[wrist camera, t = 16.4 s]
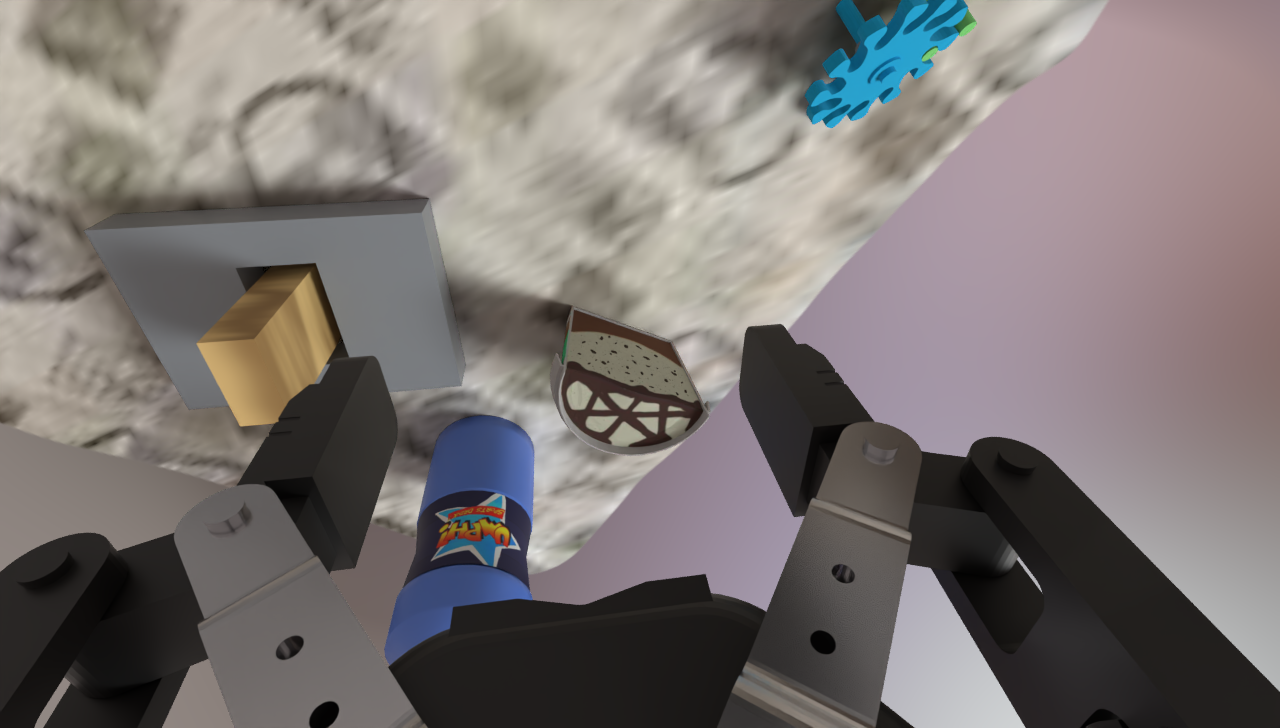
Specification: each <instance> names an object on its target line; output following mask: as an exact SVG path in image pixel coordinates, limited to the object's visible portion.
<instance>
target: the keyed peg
mask: <svg viewBox="0 0 1280 728" xmlns="http://www.w3.org/2000/svg"><path fill="white" fill-rule="evenodd" d="M341 337H342V335H341V333H340V330H339V327H338V324H337V321H336V319H335V316H334V313H333V310H332V307H331V305H330V302H329V299H328V296H327V293H326V291H325V288H324V285H323V282H322V279H321V277H320V274H319V271H318V268H317V265H316V263H308V264H291V265H275V266H271V267H270V268H269V269H268V270H267V271H266V272H265V273H264V274H263V275H262V276H261V277H260V279H259V280H258V281H257V282H256V283H255V284H254V285H253V286H252V287H251V288H250V289H249V290H248V291H247V292H246V293H245V294H244V295H243V296H242V297H241V298H240V299H239V300H238V301H237V302H236V303H235V304H234V305H233V306H232V307H231V308H230V309H229V310H228V311H227V312H226V313H225V314H224V315H223V316H222V317H221V318H220V319H219V320H218V321H217V323H216V324H215V325H214V326H213V327H212V328H211V329H210V330H209V331H208V332H207V333H206V334H205V335H204V336H203V337H202V338H201V339H200V340H199V341H198V342H197V343H196V344H197V346H198V348H199V350H200V351H201V353H202V355H203V357H204V359H205V361H206V363H207V365H208V367H209V368H210V370H211V372H212V374H213V376H214V378H215V380H216V382H217V384H218V385H219V387H220V389H221V391H222V393H223V395H224V397H225V399H226V400H227V402H228V404H229V406H230V408H231V410H232V412H233V414H234V416H235V417H236V419H237V421H238V423H239V425H240V426H251V425H262V424H273V423H276V422H278V418H279V416H280V415H281V413H282V411H283V410H284V408H285V406H286V405H287V403H288V402H289V400H291V399H292V398H293V397H294V396H296V395H297V394H298V393H299V392H300V391H302V390H303V389H304V388H305V387H307V386H308V385H309V384H314V383H315V382H316V380H317V378H318V376H319V375H320V373H321V371H322V370H323V368H324V366H325V364H326V363H327V361H328V359H329V357H330V356H331V354H332V352H333V351H334V349H335V347H336V345H337V344H338V342H339V340H340V339H341Z"/></svg>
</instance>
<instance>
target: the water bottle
mask: <svg viewBox="0 0 1280 728" xmlns="http://www.w3.org/2000/svg"><path fill="white" fill-rule="evenodd" d="M533 487H534V447H533V443H532V441H531V439H530V437H529V436H528V434H527V433H526V432H525V431H524V430H523V429H522V428H521V427H519V426H518V425H516V424H515V423H513V422H511V421H509V420H506V419H503V418H500V417H495V416H482V415H481V416H471V417H468V418H464V419H461V420H458V421H456V422H454V423H452V424H451V425H449V426H448V427H447V428H445V429H444V431H443V432H442V433H441V434H440V435H439V437H438V439H437V441H436V445H435V449H434V453H433V457H432V461H431V465H430V470H429V474H428V478H427V482H426V486H425V491H424V495H423V499H422V504H421V508H420V512H419V517H418V521H417V543H416V554H415V557H414V560H413V562H412V565H411V567H410V570H409V573H408V575H407V578H406V581H405V583H404V586H403V589H402V590H401V591H400V593H399V595H398V596H397V599H396V603H395V607H394V611H393V615H392V620H391V624H390V628H389V632H388V636H387V640H386V645H385V649H384V650H385V657H386V659H387V661H388V663H389V665H391V664H392V663H393V662H394V661H395V660H396V659H398V658H399V657H400V656H402V655H403V654H404V653H406V652H407V651H408V650H410V649H411V648H413V647H414V646H416V645H418V644H419V643H421V642H422V641H424V640H426V639H428V638H430V637H432V636H434V635H436V634H438V633H440V632H442V631H445V630H447V629H450V624H451V617H452V610H453V607H456V606H464V605H471V604H479V603H487V602H494V601H502V600H510V599H527V600H533V599H532V595H531V593H530V587H529V578H528V568H527V559H526V555H527V550H528V545H529V540H530V535H531V532H532V521H533Z"/></svg>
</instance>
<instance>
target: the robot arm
mask: <svg viewBox="0 0 1280 728" xmlns="http://www.w3.org/2000/svg"><path fill="white" fill-rule="evenodd" d="M739 391H740V400H741V404H742V408H743V410H744V412H745V414H746V417H747V418H748V421H749V423H750V425H751V427H752V429H753V431H754V434H755V436H756V438H757V440H758V442H759V444H760V446H761V448H762V450H763V453H764V455H765V457H766V459H767V461H768V463H769V465H770V467H771V470H772V472H773V474H774V476H775V478H776V480H777V482H778V484H779V486H780V489H781V491H782V493H783V495H784V497H785V499H786V501H787V503H788V506H789V508H790V510H791V512H792V514H793V516H794V517H798V516H805V517H804V519H803V522H802V524H801V527H800V529H799V532H798V534H797V537H796V539H795V542H794V544H793V547H792V549H791V552H790V554H789V557H788V559H787V562H786V564H785V567H784V569H783V572H782V574H781V577H780V579H779V582H778V584H777V587H776V589H775V592H774V595H773V597H772V599H771V602H770V604H769V607H768V610H767V612H766V611H764V610H763V609H760V608H758V607H756V606H754V605H752V604H750V603H747V602H744V601H742V600H739V599H736V598H733V597H729V596H725V595H720V594H713V593H711V592H710V589H709V585H708V581H707V578H706V575H705V574H702V575H695V576H687V577H680V578H672V579H665V580H656V581H648V582H644V583H642V584H639V585H636V586H634V587H631V588H628V589H626V590H623V591H621V592H618V593H615V594H613V595H610V596H607V597H605V598H602V599H600V600H597V601H595V602H592V603H589V604H586V605H573V604H563V603H554V602H545V601H536V600H527V599H510V600H502V601H494V602H487V603H479V604H471V605H464V606H456V607H453V610H452V617H451V624H450V629H447V630H445V631H442V632H440V633H438V634H436V635H434V636H432V637H430V638H428V639H426V640H424V641H422V642H421V643H419V644H418V645H416V646H414V647H413V648H411V649H410V650H408V651H407V652H406V653H404V654H403V655H402V656H400V657H399V658H398V659H396V660H395V661H394V662H393V663H392V664H391V665H390V666H389V667H387V665H386V663H385V662H384V660H383V659H382V657H381V656H380V654H379V653H378V651H377V649H376V648H375V646H374V645H373V643H372V641H371V640H370V638H369V637H368V635H367V634H366V632H365V630H364V629H363V627H362V626H361V624H360V623H359V621H358V619H357V618H356V616H355V615H354V613H353V611H352V610H351V608H350V607H349V605H348V604H347V602H346V600H345V599H344V597H343V596H342V594H341V592H340V591H339V589H338V588H337V586H336V584H335V583H334V581H333V580H332V578H331V577H330V572H331V571H335V570H344V569H351V568H355V567H356V564H357V560H358V557H359V554H360V551H361V548H362V545H363V542H364V539H365V536H366V533H367V530H368V527H369V524H370V521H371V518H372V515H373V512H374V509H375V505H376V502H377V499H378V496H379V493H380V490H381V487H382V484H383V481H384V478H385V475H386V472H387V469H388V466H389V462H390V459H391V456H392V453H393V450H394V447H395V444H396V440H397V431H398V428H397V418H396V413H395V410H394V407H393V404H392V401H391V397H390V394H389V391H388V388H387V385H386V382H385V379H384V376H383V373H382V370H381V367H380V364H379V362H378V360H377V358H376V357H375V356H361V357H348V358H336V359H334V360H333V361H332V362H331V364H330V366H329V367H328V369H327V371H326V373H325V374H324V376H323V378H322V380H321V381H320V383H319V384H309V385H308V386H307V387H305V388H304V389H303V390H302V391H300V392H299V393H298V394H297V395H296V396H294V397H293V398H292V399H291V400H289V402H288V403H287V405H286V406H285V408H284V410H283V411H282V413H281V415H280V416H279V418H278V422H276V423H275V424H274V426H273V428H272V429H271V431H270V432H269V437H266V439H265V441H264V442H263V444H262V445H261V447H260V449H259V450H258V452H257V453H256V455H255V457H254V458H253V460H252V462H251V463H250V465H249V466H248V468H247V470H246V471H245V473H244V475H243V476H242V478H241V479H240V481H239V483H238V484H237V486H235V487H231V488H228V489H225V490H223V491H220V492H218V493H215V494H213V495H211V496H210V497H208V498H206V499H204V500H203V501H201V502H200V503H199V504H197V505H196V506H194V507H193V508H192V509H191V510H190V511H189V512H187V513H186V514H185V516H184V517H183V518H182V519H181V521H180V522H179V523H178V525H177V527H176V530H175V533H173V534H169V535H166V536H163V537H160V538H157V539H154V540H151V541H148V542H144V543H141V544H138V545H135V546H132V547H129V548H126V549H122V550H119V551H117V550H116V549H115V548H114V547H113V546H112V544H111V543H110V542H109V541H108V540H107V538H106V537H104V536H102V535H100V534H96V533H78V534H73V535H68V536H65V537H62V538H58V539H56V540H53V541H50V542H48V543H46V544H43V545H41V546H39V547H37V548H35V549H33V550H31V551H29V552H27V553H26V554H24V555H23V556H21V557H19V558H18V559H16V560H15V561H14V562H12V563H11V564H10V565H8V566H7V567H6V568H5V569H3V570H2V571H1V572H0V728H34V727H35V724H36V722H37V719H38V718H39V716H40V714H41V712H42V711H43V709H44V708H45V706H46V705H47V703H48V701H49V700H50V698H51V697H52V695H53V693H54V692H55V690H56V689H57V687H58V686H59V684H60V683H61V681H62V680H63V678H64V677H65V678H66V679H67V680H68V681H69V682H70V683H71V684H70V686H69V687H68V689H67V691H66V692H65V694H64V695H63V697H62V699H61V700H60V702H59V703H58V705H57V707H56V708H55V710H54V711H53V713H52V715H51V716H50V718H49V719H48V721H47V723H46V724H45V726H44V728H162V726H163V724H164V722H165V720H166V718H167V715H168V713H169V711H170V709H171V706H172V705H173V702H174V700H175V698H176V696H177V694H178V691H179V689H180V687H181V685H182V683H183V681H184V678H185V676H186V674H187V672H188V670H189V668H190V666H191V665H194V664H196V663H199V662H201V661H204V660H206V659H209V660H210V663H211V666H212V668H213V671H214V674H215V677H216V679H217V682H218V685H219V687H220V690H221V693H222V695H223V698H224V701H225V703H226V706H227V709H228V712H229V714H230V717H231V720H232V722H233V725H234V728H914V727H913V726H912V725H910V724H909V723H908V722H906V721H905V720H904V719H903V718H901V717H900V716H899V715H898V714H897V713H895V712H894V711H892V709H890V708H889V707H888V706H886V705H885V704H884V703H882V702H881V695H882V690H883V685H884V680H885V675H886V669H887V664H888V659H889V654H890V649H891V643H892V638H893V633H894V628H895V622H896V617H897V612H898V607H899V601H900V596H901V591H902V585H903V580H904V575H905V570H906V565H907V564H910V565H917V566H922V567H929V568H931V569H932V571H933V572H934V574H935V576H936V577H937V579H938V581H939V583H940V584H941V586H942V588H943V589H944V591H945V592H946V594H947V596H948V598H949V599H950V601H951V603H952V604H953V606H954V608H955V609H956V611H957V613H958V614H959V616H960V618H961V620H962V621H963V623H964V625H965V626H966V628H967V630H968V631H969V633H970V635H971V636H972V638H973V640H974V641H975V643H976V645H977V647H978V648H979V650H980V652H981V653H982V655H983V657H984V658H985V660H986V662H987V663H988V665H989V667H990V668H991V670H992V672H993V673H994V675H995V677H996V678H997V680H998V682H999V684H1000V685H1001V687H1002V688H1003V690H1004V692H1005V694H1006V695H1007V697H1008V699H1009V700H1010V702H1011V704H1012V705H1013V707H1014V709H1015V711H1016V712H1017V714H1018V716H1019V717H1020V719H1021V721H1022V722H1023V724H1024V726H1025V727H1026V728H1280V692H1279V691H1278V690H1277V689H1276V688H1275V687H1274V685H1272V684H1271V682H1270V681H1269V680H1268V679H1267V678H1266V677H1265V676H1263V674H1262V673H1261V672H1260V671H1259V670H1258V669H1257V668H1256V667H1255V666H1254V665H1253V664H1252V663H1251V662H1250V661H1249V660H1248V659H1247V658H1246V657H1245V656H1244V655H1243V654H1242V653H1241V652H1240V651H1239V650H1238V649H1237V648H1236V647H1235V646H1234V645H1233V644H1232V643H1231V642H1230V641H1229V640H1228V639H1227V638H1226V637H1225V636H1224V635H1223V634H1222V633H1221V632H1220V631H1219V630H1218V629H1217V628H1216V627H1215V626H1214V625H1213V624H1212V623H1211V621H1210V620H1209V619H1208V618H1207V617H1206V616H1205V615H1204V614H1203V613H1202V612H1201V611H1200V610H1199V609H1198V608H1197V607H1196V606H1194V604H1193V603H1192V602H1191V601H1190V600H1189V599H1188V598H1187V597H1186V596H1185V595H1184V594H1183V593H1182V592H1181V591H1180V590H1179V589H1178V588H1177V587H1176V586H1175V585H1174V584H1173V583H1172V582H1171V581H1170V580H1169V579H1168V578H1167V577H1166V576H1165V575H1164V574H1163V573H1162V572H1161V571H1160V570H1159V569H1158V568H1157V567H1156V566H1155V565H1154V564H1153V563H1152V562H1151V561H1150V560H1149V559H1148V557H1147V556H1146V555H1144V554H1143V553H1142V551H1141V550H1140V549H1139V548H1138V547H1137V546H1136V545H1135V544H1134V543H1133V542H1132V541H1131V540H1130V539H1129V538H1128V537H1127V536H1126V535H1125V534H1124V533H1123V532H1122V531H1121V530H1120V529H1119V528H1118V527H1117V526H1116V525H1115V524H1114V523H1113V522H1112V521H1111V520H1110V519H1109V518H1108V517H1107V516H1106V515H1105V514H1104V513H1103V512H1102V511H1101V510H1100V509H1099V508H1098V507H1097V506H1096V505H1095V504H1094V503H1093V502H1092V501H1091V500H1090V499H1089V498H1088V497H1087V496H1086V495H1085V493H1083V491H1081V489H1079V487H1078V486H1077V485H1076V484H1075V483H1074V482H1072V480H1071V479H1070V478H1069V477H1068V476H1067V475H1066V474H1065V473H1064V472H1063V471H1062V470H1061V469H1060V468H1059V467H1058V466H1057V465H1056V464H1055V463H1054V462H1053V461H1052V460H1051V459H1050V458H1049V457H1047V456H1046V455H1045V454H1043V453H1042V452H1040V451H1039V450H1037V449H1035V448H1033V447H1031V446H1029V445H1027V444H1025V443H1022V442H1019V441H1016V440H1012V439H1008V438H1002V437H987V438H983V439H979V440H977V441H975V442H974V443H973V444H972V446H971V448H970V450H969V452H968V455H967V457H960V456H952V455H943V454H936V453H929V452H923V451H921V449H920V448H919V446H918V444H917V443H916V442H915V441H914V440H913V439H912V438H911V437H910V436H909V435H908V434H906V433H904V432H903V431H901V430H899V429H897V428H895V427H893V426H890V425H887V424H883V423H878V422H874V420H873V419H872V418H871V417H870V415H869V414H868V412H867V411H866V410H865V409H864V407H863V406H862V405H861V403H860V402H859V401H858V399H857V398H856V397H855V395H854V394H853V393H852V391H851V390H850V389H849V387H848V386H847V385H846V384H844V381H843V380H842V378H841V377H840V376H839V374H838V373H835V369H834V368H833V366H832V365H831V364H830V363H829V361H828V360H827V359H826V357H825V356H824V355H823V354H821V353H819V352H818V351H816V350H815V349H813V348H812V347H810V346H809V345H807V344H796V343H795V341H794V340H793V338H792V337H791V336H790V334H789V333H788V331H787V330H786V328H785V327H784V326H783V325H782V324H775V325H763V326H750V327H748V328H747V330H746V333H745V338H744V347H743V356H742V365H741V373H740V383H739ZM1018 556H1019V557H1020V559H1021V560H1022V561H1023V562H1024V564H1025V565H1026V566H1027V568H1028V569H1029V571H1030V572H1031V573H1032V574H1033V576H1034V577H1035V578H1036V580H1037V581H1038V583H1039V585H1040V587H1041V590H1042V592H1041V591H1040V590H1039V589H1038V587H1037V586H1036V585H1035V583H1034V582H1033V581H1032V579H1031V578H1030V577H1029V575H1028V574H1027V573H1026V571H1025V570H1024V569H1023V567H1022V566H1021V565H1020V563H1019V562H1018V561H1017V558H1018ZM1042 593H1043V594H1042Z"/></svg>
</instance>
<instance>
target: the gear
mask: <svg viewBox="0 0 1280 728" xmlns="http://www.w3.org/2000/svg"><path fill="white" fill-rule="evenodd" d="M836 11H837V13H838V14H839V16H840V18H841V19H842V21H843V23H844V24H845V26H846V27H847V29H848V31H849V32H850V34H851V35H852V37H853V39H854V40H855V42H856V43H857V46H856V48H855V55H854V56H853V57H852V58H850V59H849V58H848V57H847V55H846V53H845V52H844V50H843V49H838V50H837V51H835V52H834V53H833V54H832V55H831V56H829V57H828V58H827V59H826V60H825V62H824V63H823V67H824V69H825V70H826V72H827V74H828V75H829V77H830V78H835V77H837V78H836V79H835V80H834V81H833V82H831V83H829V84H825V83H824V81H823V80H817V81H815V82H813V83H812V85H811V86H810V87H809V89H808V90H807V92H806V94H805V97H806V99H807V101H808V103H809V104H810V105H808V107H807V115H808V117H809V119H810V121H811V122H812V124H816V123H818V122H819V121H821V120H823V121H824V123H825V125H826V126H827V127H829V128H833V127H834V126H836V125H837V124H838V123H839V122H840V121H841V120H842V119H843V118H844V117H845V115H848V117H849V119H850V120H851V121H853V120H857V119H860V118H862V117H864V116H865V115H866V114H867V112H868V110H869V108H870V106H871V104H872V103H873V102H874V101H875V99H876V98H877V97H879V99H880V100H881V102H882V104H885V103H887V102H889V101H891V100H892V99H894V98H896V97H897V96H898V95H899V94H900V93H901V90H900V88H899V84H900V82H901V80H902V79H903V77H904V76H905V75H906V74H907V73H908V72H909V71H910V73H911V74H912V76H913V77H914V79H917V78H919V77H920V76H922V75H923V74H924V73H926V72H927V71H928V70H929V69H930V68H932V67H933V62H932V61H931V59H930V58H931V57H932V56H934V55H935V54H936V52H937V51H938V50H939V51H941V50H944V49H946V48H947V47H948V46H949V45H950V44H951V43H952V42H953V41H954V40H955V39H956V37H957V36H958V35H959V36H964V35H966V34H967V33H969V32H970V31H971V30H972V29H973V28H974V27H975V26H976V24H977V22H976V21H975V19H974V18H973V16H972V15H971V13H970V12H969V10H968V6H967V5H966V3H965V2H964V0H901V2H900V3H899V5H898V8H897V11H896V13H895V15H894V16H893V18H892V19H891V21H890V22H889V23H888V25H887V26H886V25H885V23H884V22H883V20H882V19H881V17H880V16H879V15H877V16H875V17H873V18H871V19H870V20H868V21H866V22H865V20H864V18H863V17H862V15H861V14H860V12H859V11H858V9H857V7H856V6H855V4H854V3H853V1H852V0H842V1H840V2H839V4H838V5H837V7H836Z"/></svg>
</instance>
